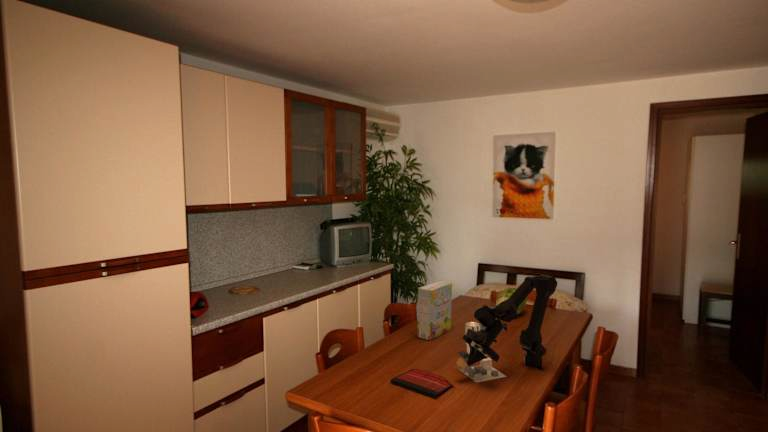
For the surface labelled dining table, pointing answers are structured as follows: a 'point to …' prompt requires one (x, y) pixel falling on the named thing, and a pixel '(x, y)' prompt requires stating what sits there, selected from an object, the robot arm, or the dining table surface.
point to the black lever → (464, 355)
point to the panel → (486, 377)
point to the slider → (486, 363)
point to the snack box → (434, 310)
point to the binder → (422, 382)
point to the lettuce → (506, 294)
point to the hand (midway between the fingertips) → (467, 365)
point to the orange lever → (466, 367)
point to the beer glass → (472, 326)
